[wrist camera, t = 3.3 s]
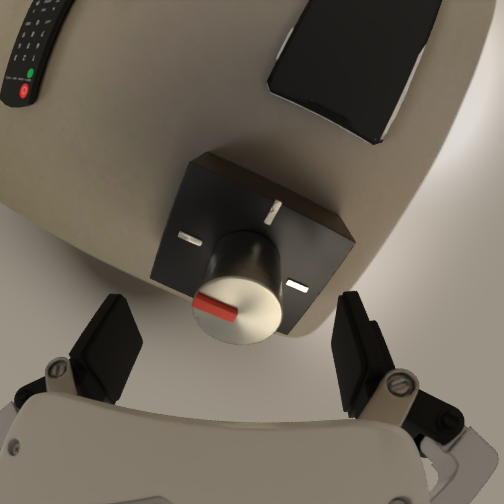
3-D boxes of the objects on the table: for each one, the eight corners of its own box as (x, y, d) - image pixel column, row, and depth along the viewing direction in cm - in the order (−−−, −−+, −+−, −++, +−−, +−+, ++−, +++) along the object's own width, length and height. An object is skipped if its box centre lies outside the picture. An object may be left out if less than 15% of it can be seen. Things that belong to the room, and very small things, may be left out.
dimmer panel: (341, 215, 18) (358, 242, 15) (285, 301, 22) (286, 338, 18) (207, 150, 17) (189, 160, 13) (168, 250, 20) (148, 280, 17)
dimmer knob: (293, 249, 15) (301, 304, 11) (261, 300, 17) (257, 360, 13) (226, 218, 15) (208, 265, 10) (201, 274, 16) (179, 330, 12)
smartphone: (446, -5, 8) (380, 150, 15) (438, -1, 9) (374, 147, 16) (347, -64, 7) (260, 88, 14) (343, -57, 8) (261, 90, 15)
